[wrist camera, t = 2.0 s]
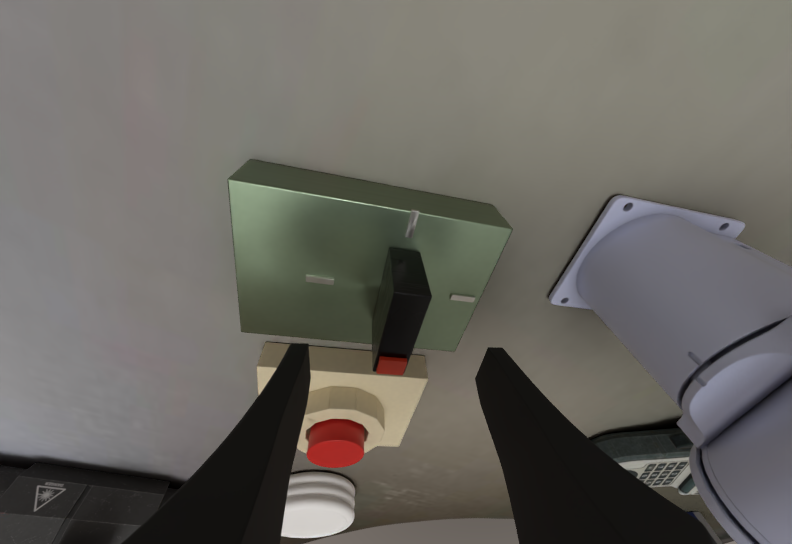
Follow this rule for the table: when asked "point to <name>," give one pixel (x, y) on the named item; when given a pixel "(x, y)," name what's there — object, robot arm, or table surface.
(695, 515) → the cassette player
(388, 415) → the box
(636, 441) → the communication device
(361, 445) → the power button
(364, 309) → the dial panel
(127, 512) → the laser sight
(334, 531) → the coaster
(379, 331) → the black rectangular block
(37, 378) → the table surface
